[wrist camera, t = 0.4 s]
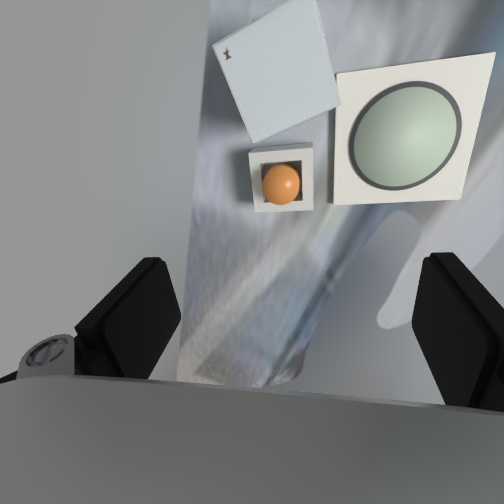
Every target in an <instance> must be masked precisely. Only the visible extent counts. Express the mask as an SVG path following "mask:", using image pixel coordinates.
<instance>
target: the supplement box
mask: <svg viewBox="0 0 504 504" xmlns="http://www.w3.org/2000/svg"><path fill="white" fill-rule="evenodd" d="M212 49H213V51H214V54H215V56H216V58H217V61H218V63H219V65H220V68H221V70H222V72H223V75H224V77H225V79H226V82H227V84H228V86H229V89H230V91H231V93H232V96H233V98H234V100H235V103H236V105H237V107H238V110H239V112H240V114H241V117H242V119H243V122H244V124H245V127H246V129H247V132H248V134H249V136H250V139H251V141H252V143H253V144H255V143H258V142H260V141H263V140H265V139H267V138H270V137H272V136H274V135H277V134H279V133H281V132H283V131H286V130H288V129H290V128H293V127H295V126H297V125H299V124H301V123H304V122H306V121H308V120H310V119H312V118H315V117H317V116H319V115H321V114H323V113H325V112H327V111H329V110H332V109H334V108H336V107H338V106H340V105H341V100H340V96H339V92H338V87H337V83H336V79H335V75H334V71H333V67H332V63H331V58H330V54H329V50H328V46H327V42H326V37H325V33H324V29H323V25H322V21H321V17H320V13H319V8H318V4H317V0H285V1H284V2H282V3H280V4H279V5H277V6H275V7H274V8H272V9H270V10H269V11H267V12H265V13H264V14H262V15H260V16H258V17H256V18H255V19H253V20H252V21H250V22H249V23H248V24H246V25H244V26H243V27H241V28H239V29H238V30H236V31H234V32H233V33H231V34H229V35H228V36H226V37H224V38H223V39H221V40H219V41H218V42H216V43H214V44H213V45H212Z"/></svg>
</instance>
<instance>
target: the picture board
mask: <svg viewBox="0 0 504 504" xmlns="http://www.w3.org/2000/svg"><path fill="white" fill-rule="evenodd" d="M495 54H496V52H492V53H485V54H478V55H470V56H463V57H456V58H449V59H441V60H434V61H427V62H419V63H412V64H405V65H398V66H390V67H383V68H376V69H368V70H361V71H354V72H347V73H339V74H336V83H337V87H338V92H339V96H340V100H341V105H340V106H338V107H336V108H335V149H334V190H333V204H334V205H348V204H370V203H391V202H413V201H434V200H456V199H461V194H462V190H463V186H464V182H465V178H466V174H467V170H468V166H469V162H470V157H471V153H472V149H473V145H474V141H475V137H476V133H477V129H478V124H479V120H480V116H481V112H482V108H483V104H484V100H485V96H486V91H487V87H488V83H489V79H490V75H491V71H492V67H493V63H494V59H495Z"/></svg>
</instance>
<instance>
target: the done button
mask: <svg viewBox="0 0 504 504" xmlns="http://www.w3.org/2000/svg"><path fill="white" fill-rule="evenodd" d="M299 183H300V177H299V173H298V171H297V170H296V168H295V167H294V166H292V165H291V164H288V163H277V164H275V165H273V166H272V167H271V168H270V169H269V170H268V172H267V174H266V176H265V178H264V180H263V183H262V191H263V194H264V196H265V198H266V199H267V200H268V201H270V202H271V203H273V204H276V205H285V204H288V203H290V202H292V201H293V200H294V199H295V198H296V196H297V194H298V191H299Z"/></svg>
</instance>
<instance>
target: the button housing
mask: <svg viewBox="0 0 504 504" xmlns="http://www.w3.org/2000/svg"><path fill="white" fill-rule="evenodd" d="M248 155H249V164H250V173H251V182H252V190H253V199H254V208H255V213H256V212H279V211H302V210H313V144H312V143H302V144H291V145H280V146H269V147H258V148H253V149H252V150H251V151H250V152H249V153H248ZM277 163H288V164H291V165H292V166H294V167H295V168H296V170H297V171H298V173H299V177H300V183H299V191H298V194H297V196H296V198H295V199H294V200H293V201H292V202H290V203H288V204H285V205H276V204H273V203H271V202H270V201H268V200H267V199H266V198H265V196H264V194H263V191H262V183H263V180H264V178H265V176H266V174H267V172H268V170H269V169H270V168H271V167H272V166H273V165H275V164H277Z"/></svg>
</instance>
